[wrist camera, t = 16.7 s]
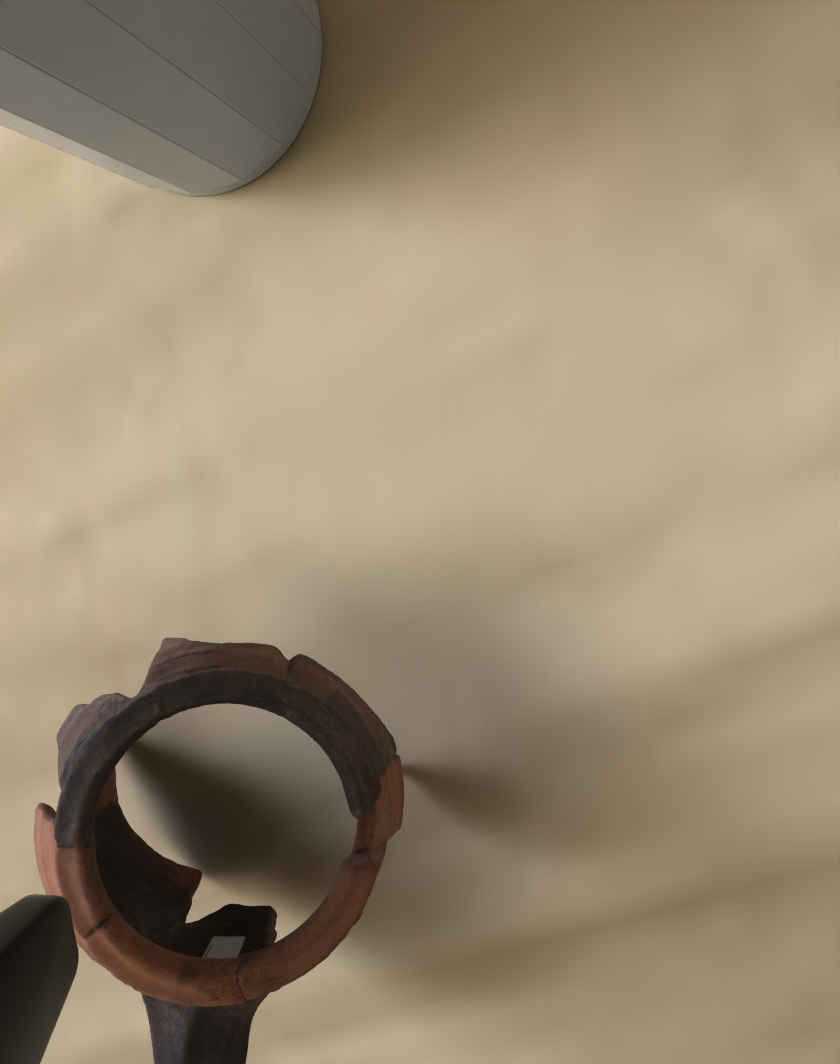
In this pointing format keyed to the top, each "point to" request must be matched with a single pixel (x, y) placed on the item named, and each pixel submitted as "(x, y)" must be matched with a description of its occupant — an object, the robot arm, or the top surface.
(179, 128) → the tumbler
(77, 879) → the brown looped piece
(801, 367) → the top surface
